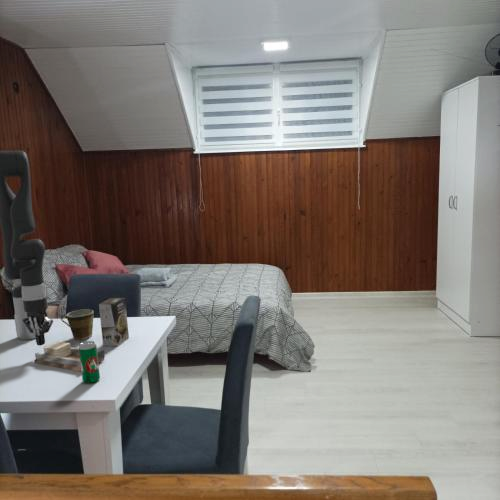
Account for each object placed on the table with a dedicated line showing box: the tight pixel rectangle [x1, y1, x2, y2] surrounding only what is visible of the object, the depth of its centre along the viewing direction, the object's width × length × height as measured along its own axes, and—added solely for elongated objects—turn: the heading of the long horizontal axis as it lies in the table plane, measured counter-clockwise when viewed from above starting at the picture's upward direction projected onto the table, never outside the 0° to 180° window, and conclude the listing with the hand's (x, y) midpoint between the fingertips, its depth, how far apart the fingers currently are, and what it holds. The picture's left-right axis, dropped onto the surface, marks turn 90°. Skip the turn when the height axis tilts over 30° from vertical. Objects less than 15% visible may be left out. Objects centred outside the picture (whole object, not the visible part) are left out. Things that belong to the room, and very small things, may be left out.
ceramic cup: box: [60, 308, 95, 341], centre depth 176 cm, size 13×10×10 cm
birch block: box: [43, 340, 71, 357], centre depth 155 cm, size 6×6×4 cm
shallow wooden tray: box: [34, 347, 106, 372], centre depth 153 cm, size 23×10×4 cm, turn 65°
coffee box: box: [98, 297, 130, 347], centre depth 169 cm, size 9×6×16 cm
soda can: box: [78, 340, 101, 385], centre depth 136 cm, size 5×5×12 cm
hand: (41, 344), depth 158 cm, fingers closed
